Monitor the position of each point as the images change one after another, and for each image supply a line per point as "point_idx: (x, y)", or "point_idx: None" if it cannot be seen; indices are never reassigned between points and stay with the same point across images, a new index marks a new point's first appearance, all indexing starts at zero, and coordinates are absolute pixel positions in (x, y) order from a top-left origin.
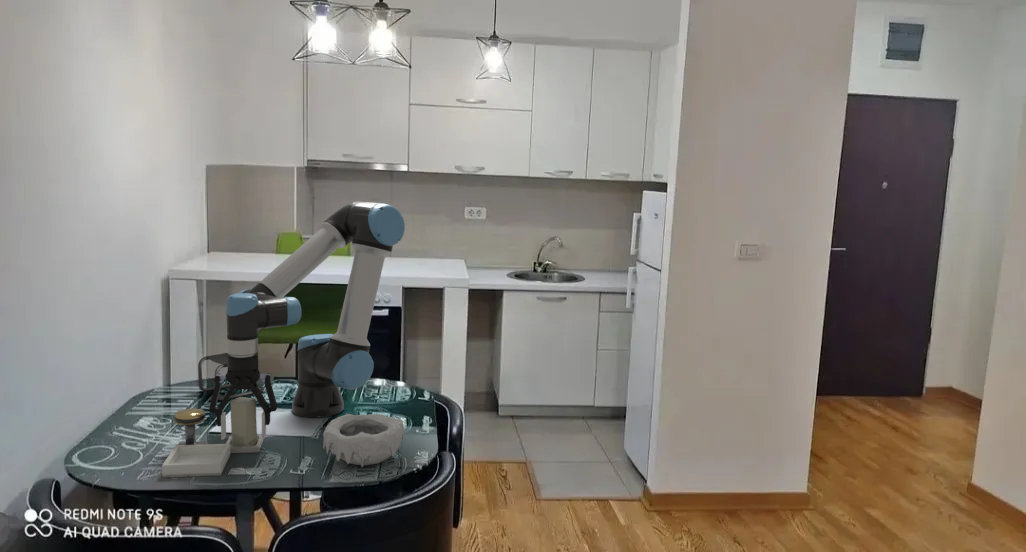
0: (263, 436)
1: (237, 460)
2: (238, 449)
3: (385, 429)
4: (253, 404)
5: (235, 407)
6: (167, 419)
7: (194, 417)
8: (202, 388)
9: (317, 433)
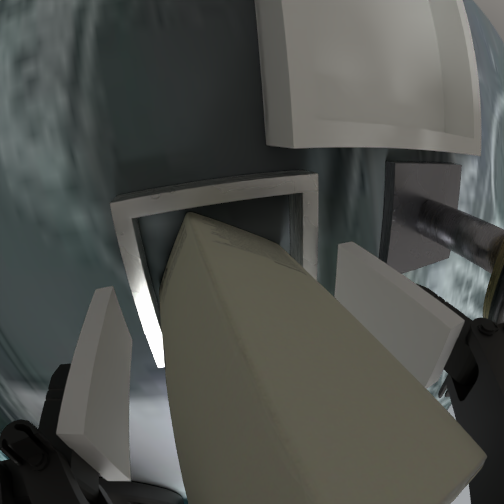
0: (100, 294)
1: (206, 65)
2: (233, 178)
3: None
4: None
5: (430, 430)
6: (431, 387)
7: None
8: None
9: (13, 403)
